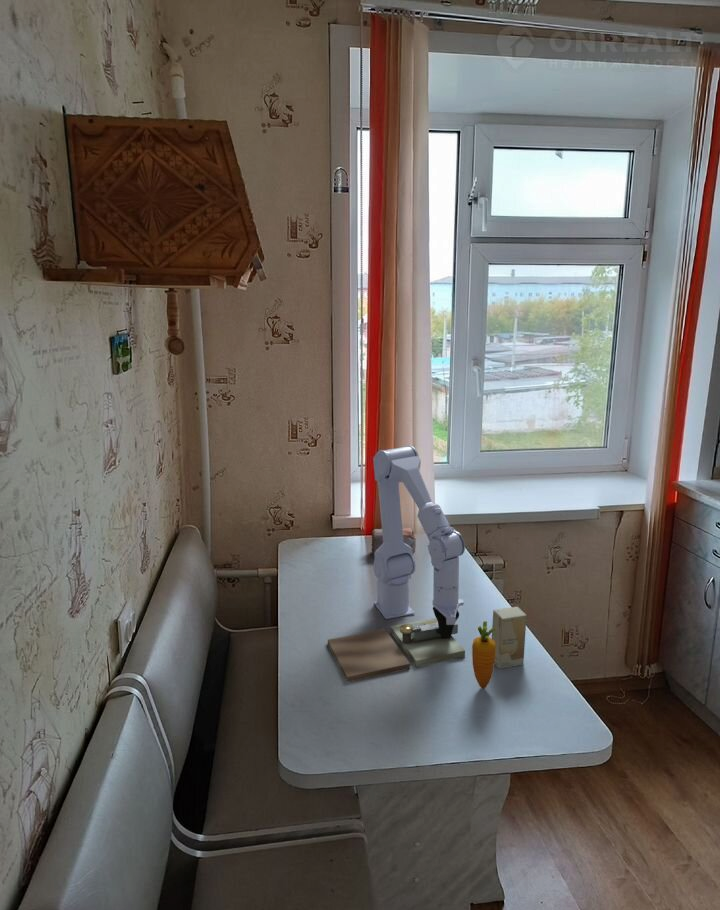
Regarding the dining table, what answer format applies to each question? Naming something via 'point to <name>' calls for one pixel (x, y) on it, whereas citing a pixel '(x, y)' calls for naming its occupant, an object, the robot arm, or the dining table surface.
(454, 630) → the swing bar
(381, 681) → the dining table surface
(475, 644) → the carrot
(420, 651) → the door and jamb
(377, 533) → the food item
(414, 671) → the dining table surface
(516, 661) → the skincare box
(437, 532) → the robot arm
